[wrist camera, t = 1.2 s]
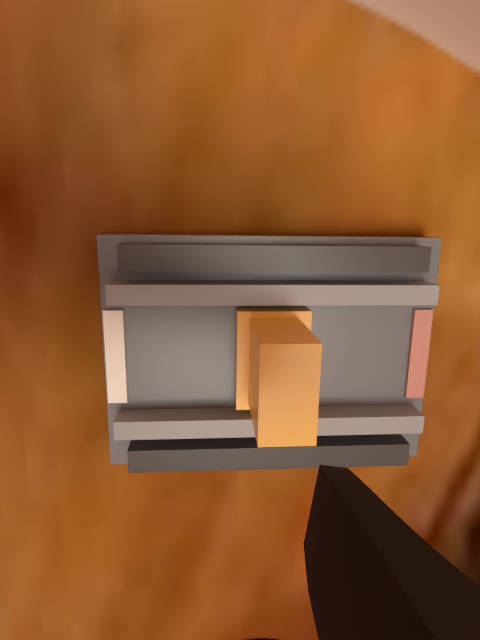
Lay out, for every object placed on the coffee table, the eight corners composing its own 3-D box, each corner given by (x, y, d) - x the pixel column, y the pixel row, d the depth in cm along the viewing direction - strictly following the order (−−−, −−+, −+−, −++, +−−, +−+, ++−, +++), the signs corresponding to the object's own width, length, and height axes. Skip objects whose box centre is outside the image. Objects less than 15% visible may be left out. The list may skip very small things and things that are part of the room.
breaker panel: (117, 446, 21) (104, 479, 18) (105, 233, 18) (87, 235, 16) (402, 440, 22) (429, 470, 19) (424, 236, 19) (457, 239, 17)
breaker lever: (235, 402, 19) (242, 455, 15) (236, 307, 18) (244, 334, 14) (303, 401, 19) (330, 453, 15) (307, 307, 18) (338, 334, 14)
